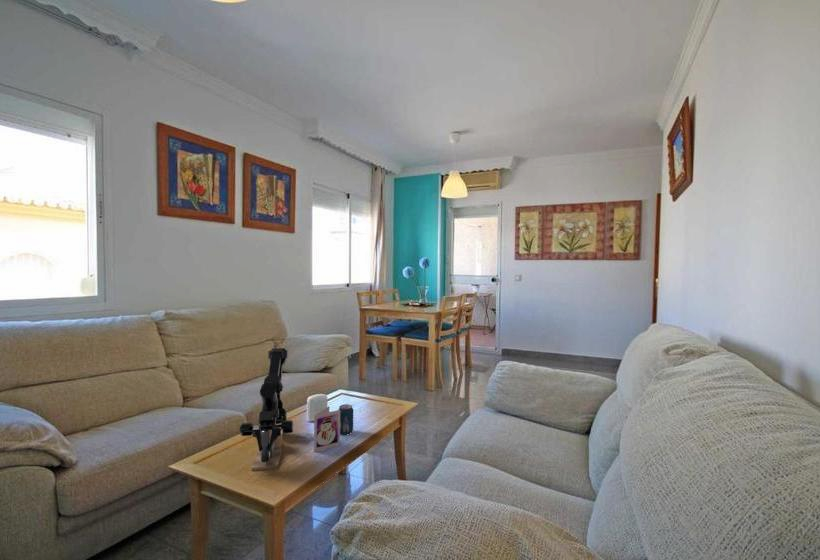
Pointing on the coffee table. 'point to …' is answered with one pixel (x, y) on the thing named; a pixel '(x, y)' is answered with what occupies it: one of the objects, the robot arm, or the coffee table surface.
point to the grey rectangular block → (272, 449)
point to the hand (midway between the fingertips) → (264, 451)
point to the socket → (278, 440)
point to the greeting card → (326, 429)
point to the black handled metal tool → (265, 446)
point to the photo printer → (315, 405)
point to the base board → (271, 462)
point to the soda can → (346, 419)
